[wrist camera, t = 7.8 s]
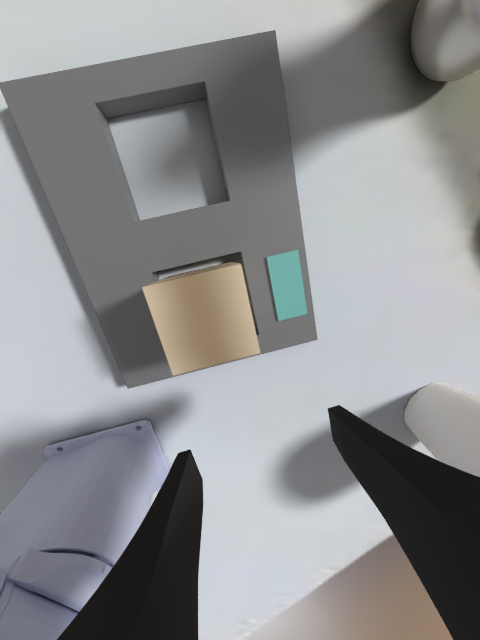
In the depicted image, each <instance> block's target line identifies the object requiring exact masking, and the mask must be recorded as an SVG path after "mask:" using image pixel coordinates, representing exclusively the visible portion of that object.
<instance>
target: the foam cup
mask: <svg viewBox="0 0 480 640" xmlns="http://www.w3.org/2000/svg"><path fill="white" fill-rule="evenodd" d="M404 421H405V423H406V424H407V426H408V427H409V429H410V430H411V431H412V432H413V433H414V435H415V436H416V437H417V438H418V439H419V440H420V441H421V443H422V444H423V445H424V446H425V447H426V448H427V449H428V450H429V451H430V452H431V454H432V455H433V456H434V457H435V458H436V459H437V460H438V461H440V462H443V463H445V464H447V465H450V466H452V467H455V468H457V469H460V470H462V471H465V472H467V473H470V474H472V475H475V476H478V477H480V397H479V396H477V395H474V394H472V393H469V392H467V391H464V390H462V389H459V388H457V387H454V386H452V385H448V384H446V383H432V384H430V385H428V386H426V387H424V388H421V389H420V390H419V391H418V392H417V393H415V394H414V395H413V396H412V397H411V398H410V400H409V402H408V404H407V406H406V408H405V410H404Z"/></svg>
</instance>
